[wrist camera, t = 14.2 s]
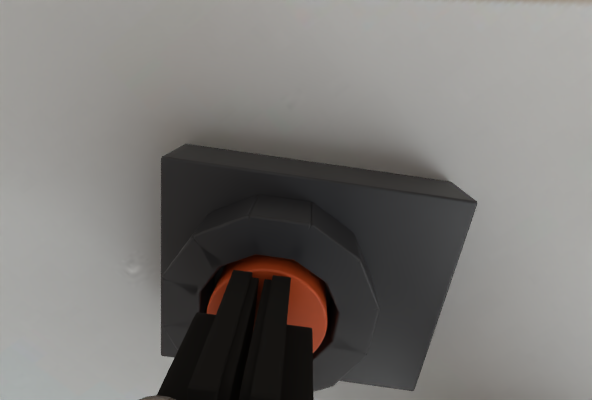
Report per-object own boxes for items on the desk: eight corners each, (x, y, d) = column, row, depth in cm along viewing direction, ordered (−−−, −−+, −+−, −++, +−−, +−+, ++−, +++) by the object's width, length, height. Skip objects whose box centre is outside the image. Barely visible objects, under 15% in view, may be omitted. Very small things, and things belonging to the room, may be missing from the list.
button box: (452, 181, 13) (510, 225, 9) (400, 350, 16) (429, 437, 12) (184, 143, 13) (131, 171, 9) (180, 319, 16) (138, 397, 12)
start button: (333, 249, 11) (337, 279, 10) (316, 337, 12) (317, 377, 11) (223, 233, 11) (208, 261, 10) (217, 323, 12) (203, 361, 11)
